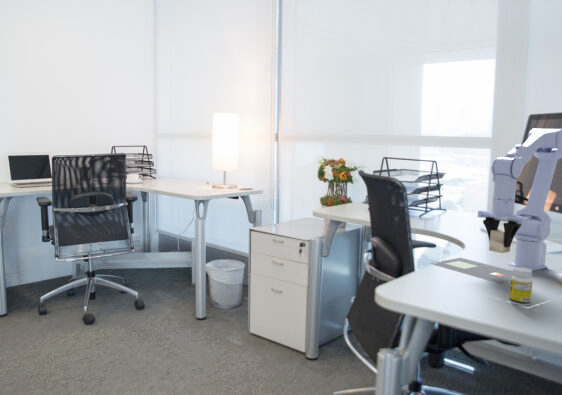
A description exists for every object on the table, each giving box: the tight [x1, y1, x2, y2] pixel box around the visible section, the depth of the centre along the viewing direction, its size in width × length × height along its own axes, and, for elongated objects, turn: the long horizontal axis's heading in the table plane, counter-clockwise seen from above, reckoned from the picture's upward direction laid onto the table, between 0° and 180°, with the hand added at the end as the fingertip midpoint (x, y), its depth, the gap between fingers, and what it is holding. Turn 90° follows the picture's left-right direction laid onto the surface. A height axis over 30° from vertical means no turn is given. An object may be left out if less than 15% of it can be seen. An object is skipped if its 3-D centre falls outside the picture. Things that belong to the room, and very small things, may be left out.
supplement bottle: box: [509, 267, 534, 307], centre depth 119 cm, size 5×5×8 cm
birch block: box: [488, 228, 511, 254], centre depth 142 cm, size 4×4×6 cm
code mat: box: [429, 257, 514, 285], centre depth 149 cm, size 16×24×1 cm, turn 35°
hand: (499, 245), depth 143 cm, fingers closed on birch block, 4 cm apart
